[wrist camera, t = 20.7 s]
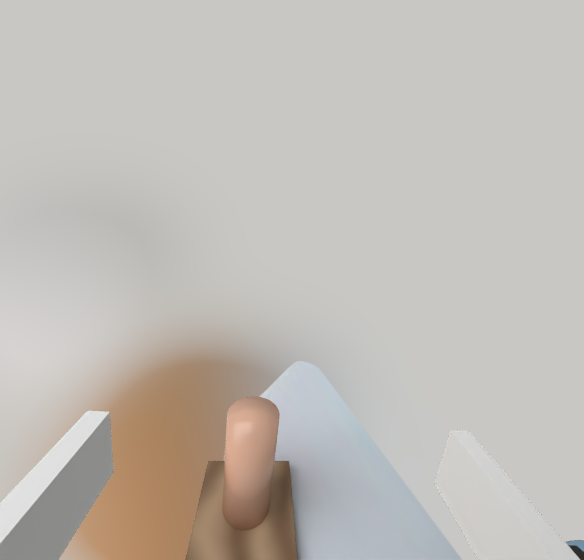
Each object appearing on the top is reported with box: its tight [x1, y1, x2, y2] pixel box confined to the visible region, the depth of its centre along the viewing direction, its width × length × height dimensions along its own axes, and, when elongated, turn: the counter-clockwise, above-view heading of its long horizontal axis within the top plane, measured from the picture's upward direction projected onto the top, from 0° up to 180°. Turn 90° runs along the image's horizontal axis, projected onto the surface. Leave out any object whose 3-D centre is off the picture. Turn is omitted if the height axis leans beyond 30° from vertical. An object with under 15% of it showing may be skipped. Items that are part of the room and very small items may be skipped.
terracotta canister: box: [222, 397, 279, 530], centre depth 38 cm, size 7×7×16 cm
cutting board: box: [186, 461, 297, 560], centre depth 41 cm, size 14×14×2 cm
